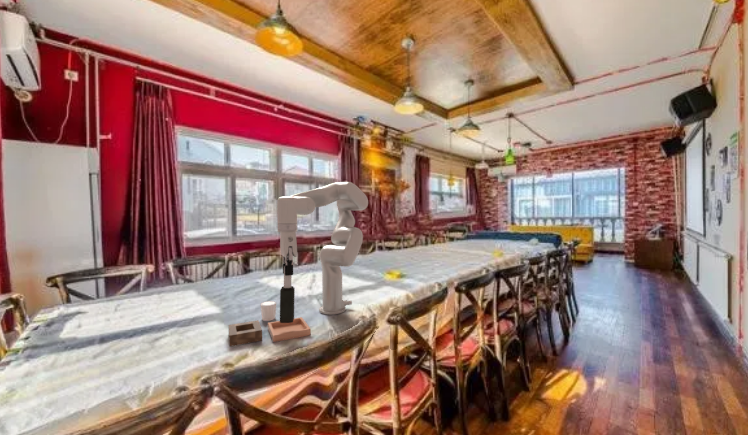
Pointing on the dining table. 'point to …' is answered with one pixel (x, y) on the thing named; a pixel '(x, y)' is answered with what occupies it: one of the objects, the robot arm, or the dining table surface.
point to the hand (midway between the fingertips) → (288, 273)
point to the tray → (288, 329)
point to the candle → (287, 300)
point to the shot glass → (268, 310)
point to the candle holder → (245, 333)
